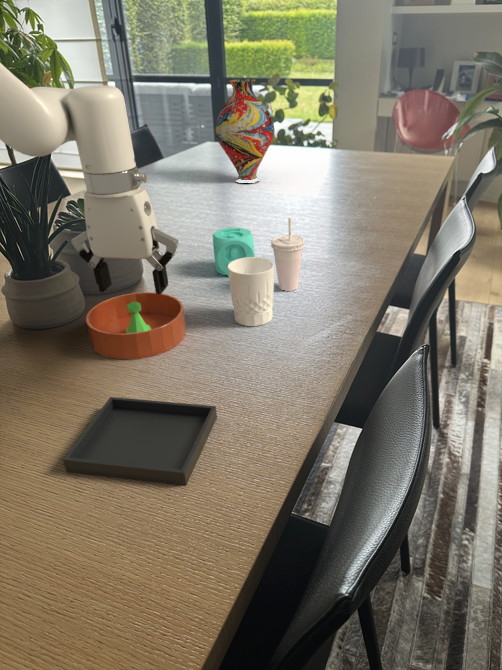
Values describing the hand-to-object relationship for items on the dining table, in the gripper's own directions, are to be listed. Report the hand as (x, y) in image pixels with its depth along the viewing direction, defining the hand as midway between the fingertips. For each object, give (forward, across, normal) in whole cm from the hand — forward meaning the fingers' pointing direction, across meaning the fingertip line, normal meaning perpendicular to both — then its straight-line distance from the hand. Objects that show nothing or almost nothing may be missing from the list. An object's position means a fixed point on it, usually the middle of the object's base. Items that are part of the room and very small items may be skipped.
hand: (133, 289), depth 89 cm
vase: (+9, +6, -108) cm, 108 cm away
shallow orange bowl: (+8, 0, 0) cm, 9 cm away
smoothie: (+9, -22, -23) cm, 33 cm away
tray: (+8, -12, +27) cm, 31 cm away
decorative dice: (+9, -8, -31) cm, 33 cm away
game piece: (+8, 0, 0) cm, 8 cm away
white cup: (+9, -18, -9) cm, 22 cm away
